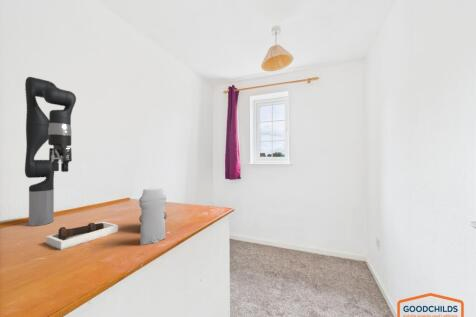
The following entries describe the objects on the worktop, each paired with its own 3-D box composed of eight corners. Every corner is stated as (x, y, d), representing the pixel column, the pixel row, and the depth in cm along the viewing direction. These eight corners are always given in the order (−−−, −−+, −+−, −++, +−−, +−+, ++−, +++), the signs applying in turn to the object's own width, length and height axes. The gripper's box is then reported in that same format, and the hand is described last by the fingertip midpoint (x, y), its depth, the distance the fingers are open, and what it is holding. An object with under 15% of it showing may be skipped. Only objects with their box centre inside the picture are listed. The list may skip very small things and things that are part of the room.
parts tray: (46, 243, 78) (46, 236, 78) (102, 227, 96) (102, 221, 96) (61, 250, 72) (61, 241, 72) (117, 231, 91) (118, 225, 91)
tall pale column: (141, 247, 75) (141, 189, 75) (137, 243, 77) (137, 188, 78) (168, 239, 82) (168, 186, 82) (164, 236, 85) (164, 185, 85)
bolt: (103, 234, 90) (59, 244, 78) (100, 227, 92) (57, 236, 80) (106, 224, 88) (62, 233, 76) (102, 217, 91) (59, 224, 79)
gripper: (41, 134, 86) (41, 171, 86) (57, 132, 80) (56, 172, 80) (62, 136, 93) (62, 170, 93) (78, 134, 87) (78, 171, 86)
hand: (60, 171), depth 86 cm, fingers open, 8 cm apart
